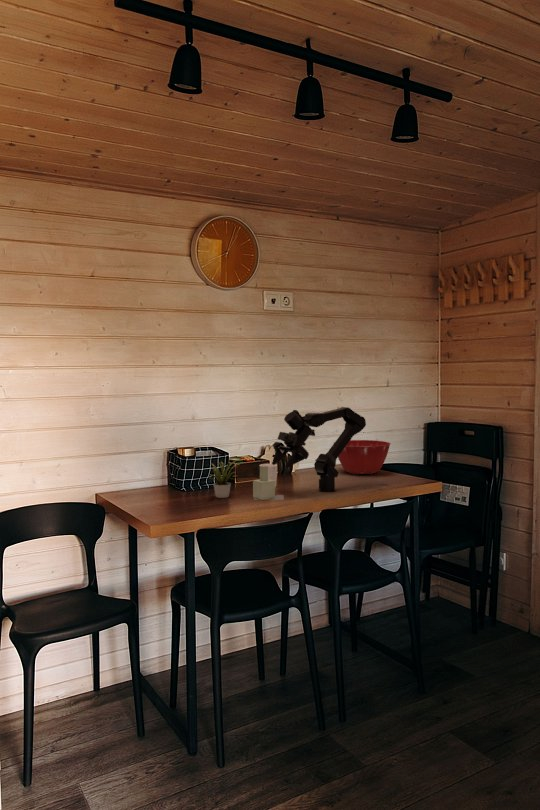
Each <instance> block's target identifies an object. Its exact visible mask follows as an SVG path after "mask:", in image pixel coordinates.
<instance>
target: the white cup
mask: <svg viewBox="0 0 540 810" xmlns="http://www.w3.org/2000/svg"><path fill="white" fill-rule="evenodd" d="M263 465H265V466H268V479H269V480H273V481H275V488H276V487H277V479H278V477H277V476H278V464H277V463H276V464H275V465H273V464H272V463H262V464H259V467H260V466H263Z"/></svg>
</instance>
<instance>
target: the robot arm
mask: <svg viewBox="0 0 540 810" xmlns="http://www.w3.org/2000/svg"><path fill="white" fill-rule="evenodd" d="M341 418H342V420H343V421H344V422H345V423H344V429H343V431H342V432H341V434H340V435H339V436H338V438H337V439H336V440H335V443H334V442H333V444H332V445H331V447H330V448H329V450H328V451H327V452H326V453H320V454H319V455H318V456H317V458H315V460H314V461H315V462H314V464H313V465H314V466H313V467H314V470H315V472H316V475H317V476H319V479H318V490H319V491H320V492H336V488H335V487H336V486H335V485H336V479H335V478H337V477H338V476H339V471H338V470H337V469H336V466H337V465H336V464H337V459H338V456H339V455H340V453H341V452H342V451H343V449H344V448H345V447H346V445H347V444H348V443H349V441H350V440H352V438H353V437H354V436H356V435H357V434H358V433H360V432H361V431H362V430H363V429H365V428H366V425H367V423H366V418H365V417H364V416H362V415H360V414H359V413H357V412H356V411H354V410H352V409H351V408H350V407H346V406H345V407H344V406H341V407H339V408H336V409H332V410H327V411H322V412H308V413H305V414H304V415H303V416H302V415H301V413H300V412H299V411H298V410H297V409H293V410H292V411H291V412H288V414H286V415H285V416H284V418H283V419H284V422H285V423H286V424H287V425H288V426H289V427H290V428H291V430H292V431H295V432H292V431H289V432H286V431H285V432H284V431H279V433H278V437H277V440H278V441H275V442H273V444H272V448H273V449H274V455H273V459H272V462H271V464H273V465H275V464H276V465H277V464H278V463H279V462H280V461H281V460H283V459H284V458H285V457H286V455H287V454H288V453H291V455H290V456H289V458H288V460H287V462H286V463H285V465H284V467H285V468H286V469H288V468H290V467H292V466H294V465H295V464H298V463H300V462H301V461H304V460H307V459H308V457H309V456H310V453H309V452H308V450H307V449H306V448H305V447H304V446H306V445H307V443H306V441H307V440H308V439H309V437H310V436H313V437H315V436H316V432H315V429H312V427H313V428H319V427H321V426H323V425H324V424H325V423H326V422H330V421H334V420H337V419H341ZM279 440H280V441H282V442H280V441H279Z"/></svg>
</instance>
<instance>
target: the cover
mask: <svg viewBox="0 0 540 810" xmlns="http://www.w3.org/2000/svg"><path fill="white" fill-rule="evenodd" d="M275 495H276V487H275V481H273V480H269V479H268V466H265V465H263V466H260V465H259V479H252V497H253V499H254V498H257V499H261V500H260V501H266V500H265V499H271V498H275Z"/></svg>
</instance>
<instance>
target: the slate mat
mask: <svg viewBox="0 0 540 810" xmlns="http://www.w3.org/2000/svg"><path fill="white" fill-rule="evenodd" d="M284 497H285V496H284V494H275V498H271V499H265V500H264V501H271V500H272V501H277V500H278V501H284ZM253 500H254V501H256V500H257V501H262V500H261V499H257V498H254V497H253Z"/></svg>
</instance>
